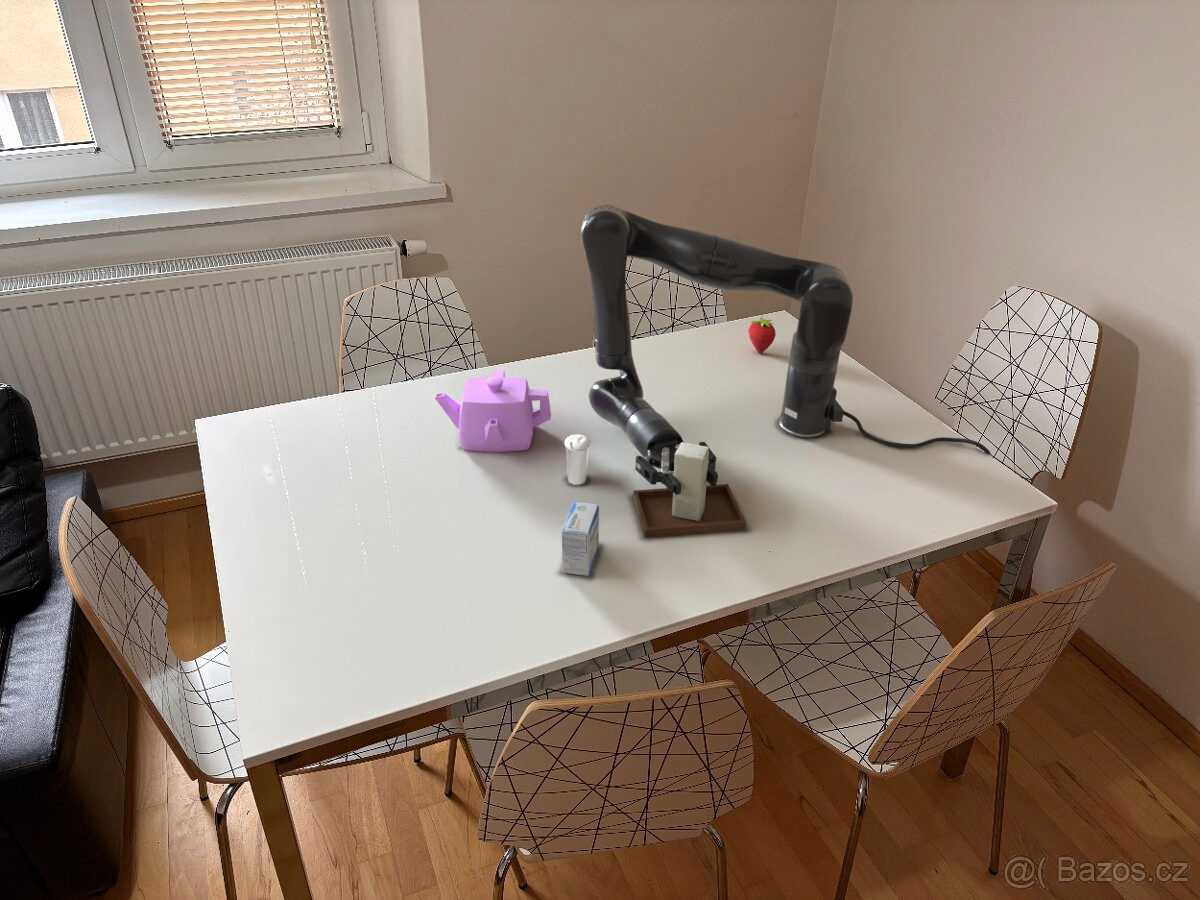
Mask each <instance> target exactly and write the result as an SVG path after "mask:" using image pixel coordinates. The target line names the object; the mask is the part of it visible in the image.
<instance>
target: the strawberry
mask: <svg viewBox="0 0 1200 900" xmlns="http://www.w3.org/2000/svg"><path fill="white" fill-rule="evenodd" d="M760 315H761V317H759V320H754V319H753V320H751V321H750V324H749V328H748V336H749V341H750V342H751V344H752V346H753V348H754V349H755V350H756V352H757V354H759V355H760V354H763V353H764V352H765V351H766V350H768V349H769V347H771V345H772V344H773V343H774V341H775V338H776V336H777V333H776V329H775V327H774V326H773V325H774V323H773V322H772V321H773V319H765V318H764V315H763V314H762V313H760Z"/></svg>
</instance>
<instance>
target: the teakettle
mask: <svg viewBox="0 0 1200 900" xmlns="http://www.w3.org/2000/svg"><path fill="white" fill-rule="evenodd" d="M434 399H435V401H436V403H438V405H439V406H440V407H441V409H442V410H443V411H444V413H445V414H446V415H447V416H448V417H447V418H449V419H450V421H451V422H452V424H453V425H454V426H455V428H456V429H458V440H459V443H460V446H461V448H462V450H465V451H470V452H471V451H472V452H487V453H492V452H493V453H494V452H495V453H503V452H505V453H506V452H521V451H526V450H529V449H530V446H531V444H532V440H533V435H534V434H533V433H534V429H535V428H536V427H538V426H540V425H543V424H544V423H546V422H549V421H550V420H551V419H552V409H551V404H550V395H549V390H548V389H530V386H529V383H528V380H527V378H524V377H518V376H506V372H505V369H493V371H492V375H491V376H474V377H468V378H466V381H465V383H464V387H463V391H462V396H461V402H460V404H459V403H458V402H457V401H455V400H454V399H453V398H452V397H450V396H449V395H447V393H446V392H445V391H444V392H437V393H435V395H434ZM533 401H539V409H538V410H535V411H534V405H533Z"/></svg>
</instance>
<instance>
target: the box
mask: <svg viewBox="0 0 1200 900" xmlns="http://www.w3.org/2000/svg"><path fill="white" fill-rule="evenodd" d="M709 448H710V447H709V446H708V447H706V446H700V445H699V444H694V443H688V442H684V443H683V442H681V444H680V445H679V447H678V449H677V451H676V453H675V465H674V471H673V475H674V477H675V478H676V479H677V480H678V481H679V482H680V484H681V494H679V495H675V493H673V505H672V515H673V516H676V517H681V518H686V519H690V520H696V521H700V519H701V517H702V514H703V512H704V509H705V497H706V485H707V482H708V481H707V470H708V456H709Z"/></svg>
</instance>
